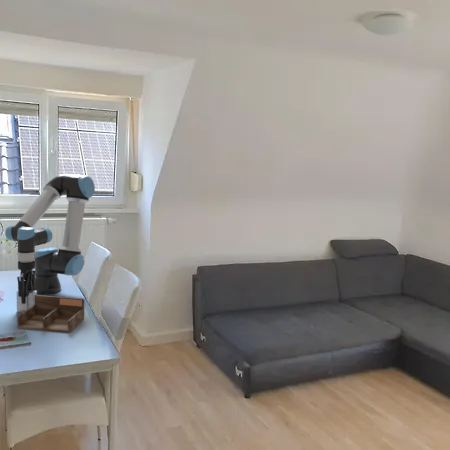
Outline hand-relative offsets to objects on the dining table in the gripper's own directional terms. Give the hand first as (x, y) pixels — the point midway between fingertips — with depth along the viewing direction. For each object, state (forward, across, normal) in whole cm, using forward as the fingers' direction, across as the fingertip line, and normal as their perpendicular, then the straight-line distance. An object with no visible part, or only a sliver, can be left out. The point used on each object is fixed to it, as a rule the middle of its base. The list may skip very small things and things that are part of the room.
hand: (26, 307), depth 234 cm
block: (+2, 0, 0) cm, 2 cm away
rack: (+2, +13, +18) cm, 22 cm away
